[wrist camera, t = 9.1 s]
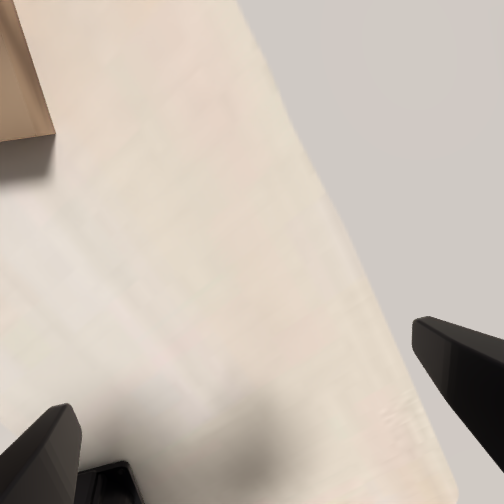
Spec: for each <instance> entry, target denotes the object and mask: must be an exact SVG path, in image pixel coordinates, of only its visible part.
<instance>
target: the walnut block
mask: <svg viewBox="0 0 504 504" xmlns="http://www.w3.org/2000/svg"><path fill="white" fill-rule="evenodd" d="M51 134H56V132H55V129H54V126H53V123H52V120H51V117H50V114H49V111H48V107H47V104H46V101H45V98H44V95H43V92H42V89H41V86H40V83H39V80H38V77H37V73H36V70H35V67H34V64H33V61H32V58H31V55H30V52H29V49H28V46H27V43H26V39H25V36H24V33H23V30H22V27H21V24H20V21H19V18H18V15H17V12H16V8H15V5H14V2H13V0H0V142H2V141H9V140H16V139H23V138H30V137H37V136H44V135H51Z"/></svg>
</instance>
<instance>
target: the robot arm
mask: <svg viewBox="0 0 504 504" xmlns="http://www.w3.org/2000/svg"><path fill="white" fill-rule="evenodd" d="M412 348H413V351H414V353H415V355H416V356H417V358H418V359H419V361H420V362H421V364H422V365H423V367H424V368H425V370H426V371H427V373H428V374H429V376H430V377H431V379H432V381H433V382H434V384H435V385H436V387H437V388H438V390H439V391H440V393H441V394H442V396H443V397H444V399H445V400H446V401H447V403H448V404H449V405H450V407H451V408H452V409H453V411H455V413H456V414H457V415H458V417H459V418H460V419H461V420H462V422H463V423H464V424H465V425H466V427H467V428H468V429H469V430H470V431H471V433H472V434H473V435H474V437H475V438H476V439H477V440H478V442H479V443H480V444H481V445H482V447H483V448H484V449H485V450H486V452H487V453H488V454H489V455H490V457H491V458H492V459H493V460H494V461H495V463H496V464H497V465H498V466H499V468H500V469H501V470H502V471H503V473H504V340H503V339H500V338H496V337H493V336H490V335H487V334H483V333H481V332H478V331H474V330H471V329H468V328H465V327H462V326H459V325H456V324H452V323H449V322H446V321H443V320H440V319H437V318H434V317H430V316H426V317H421V318H417V319H415V320H414V321H413V324H412ZM81 441H82V430H81V426H80V424H79V422H78V419H77V417H76V415H75V413H74V410H73V408H72V406H71V405H70V404H68V403H64V404H60V405H56V406H52V407H50V408H49V409H48V410H47V411H46V412H45V413H44V414H43V415H41V416H40V417H39V418H38V419H37V420H36V421H35V422H34V423H33V424H32V425H31V426H30V427H29V428H28V429H27V430H26V431H25V432H24V433H23V434H22V435H21V436H20V437H19V438H18V439H17V440H16V441H15V442H13V444H11V445H10V447H8V448H7V449H6V450H5V451H4V452H3V453H2V454H1V455H0V504H145V503H144V501H143V498H142V496H141V493H140V490H139V488H138V485H137V483H136V480H135V478H134V475H133V472H132V470H131V467H130V465H129V463H128V462H126V461H120V462H116V463H112V464H109V465H105V466H101V467H97V468H93V469H90V470H86V471H82V472H78V465H79V457H80V449H81Z"/></svg>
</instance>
